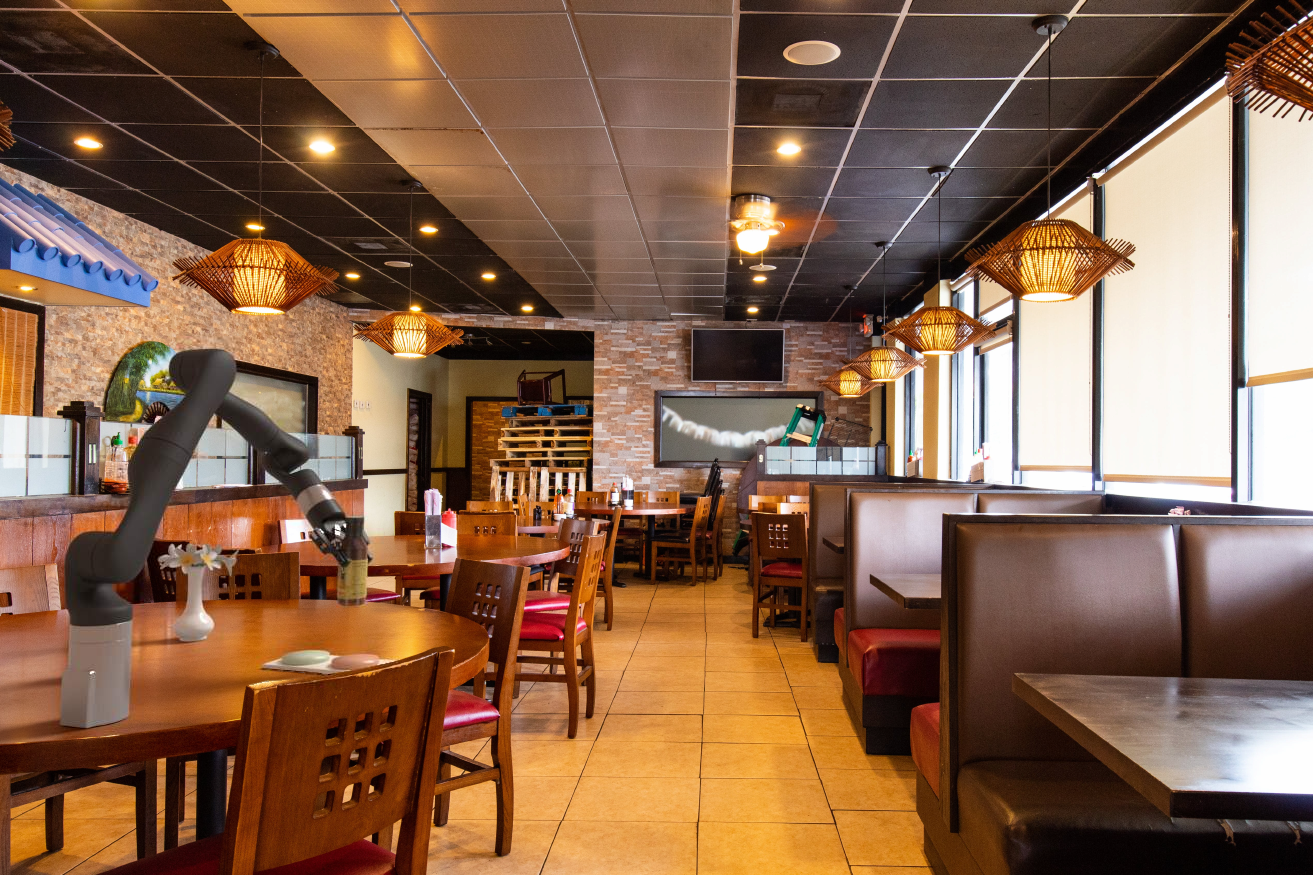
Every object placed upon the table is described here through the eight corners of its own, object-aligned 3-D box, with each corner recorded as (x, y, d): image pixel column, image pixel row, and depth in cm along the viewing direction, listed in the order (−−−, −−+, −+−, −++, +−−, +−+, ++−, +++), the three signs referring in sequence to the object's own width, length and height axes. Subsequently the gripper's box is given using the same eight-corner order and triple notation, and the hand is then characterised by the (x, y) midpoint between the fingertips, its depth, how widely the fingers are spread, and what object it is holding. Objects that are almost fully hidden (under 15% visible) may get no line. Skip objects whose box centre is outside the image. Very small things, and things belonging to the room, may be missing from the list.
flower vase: (240, 638, 211) (244, 542, 212) (159, 647, 199) (163, 546, 201) (228, 630, 221) (231, 539, 222) (150, 639, 209) (154, 542, 210)
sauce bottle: (335, 602, 183) (338, 515, 184) (364, 601, 186) (367, 514, 186) (338, 607, 177) (340, 517, 178) (368, 605, 180) (370, 516, 181)
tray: (364, 677, 173) (364, 667, 174) (262, 668, 180) (263, 658, 180) (395, 664, 185) (396, 655, 185) (299, 656, 192) (299, 647, 192)
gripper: (304, 498, 179) (343, 555, 174) (353, 496, 192) (390, 549, 187) (286, 521, 181) (324, 578, 176) (336, 517, 194) (372, 570, 189)
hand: (358, 563), depth 181 cm, fingers closed on sauce bottle, 6 cm apart
